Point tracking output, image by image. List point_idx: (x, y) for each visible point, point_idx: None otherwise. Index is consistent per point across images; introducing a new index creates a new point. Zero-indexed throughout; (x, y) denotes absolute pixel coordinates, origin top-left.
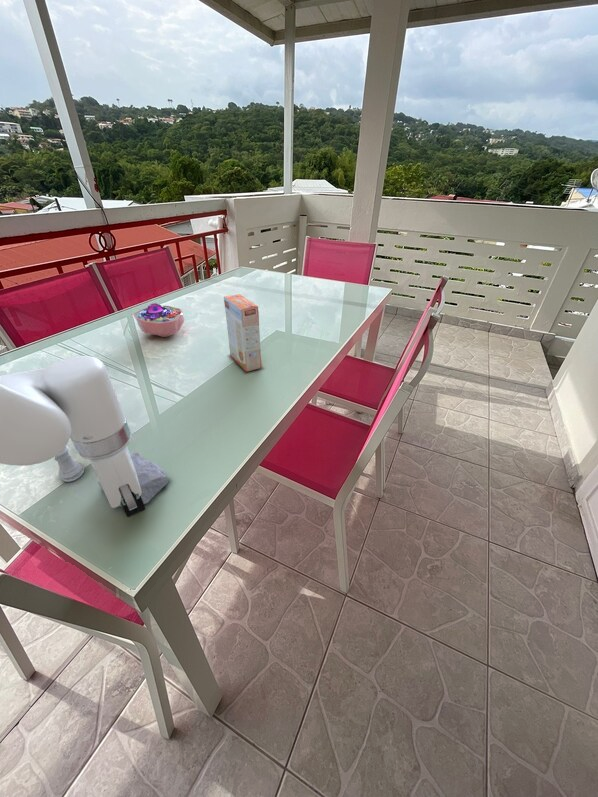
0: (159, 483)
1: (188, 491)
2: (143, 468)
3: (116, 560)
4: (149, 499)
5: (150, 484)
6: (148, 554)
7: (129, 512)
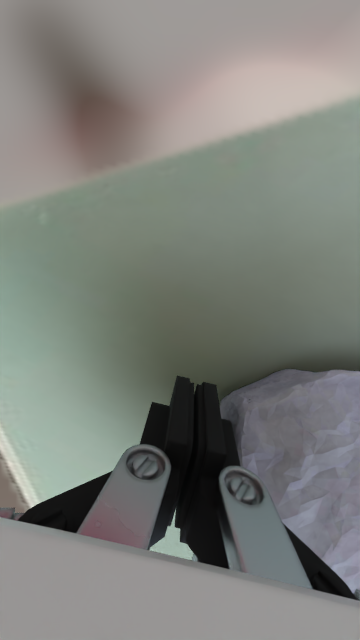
0: None
1: None
2: (355, 580)
3: (58, 247)
4: None
5: None
6: (6, 337)
7: (172, 399)
